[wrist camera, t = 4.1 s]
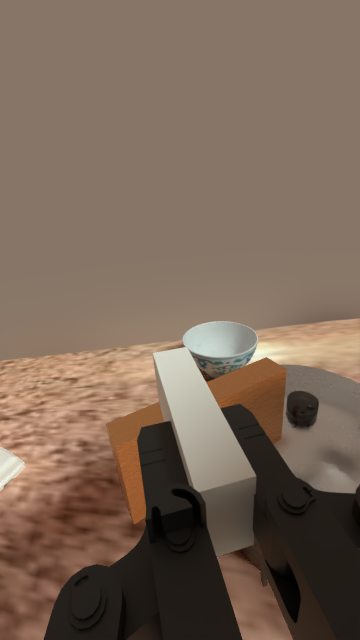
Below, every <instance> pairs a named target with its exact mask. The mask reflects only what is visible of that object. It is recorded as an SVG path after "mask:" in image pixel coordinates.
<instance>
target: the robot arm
mask: <svg viewBox="0 0 360 640" xmlns="http://www.w3.org/2000/svg"><path fill="white" fill-rule="evenodd" d="M153 359H154V366H155V374H156V381H157V389H158V396H159V404H160V408H161V412H162V415H163V419H164V422H162V423H158V424H153V425H149V426H145V427H141V430H140V433H139V436H138V438H137V445H138V452H139V460H140V467H141V474H142V482H143V489H144V497H145V504H146V519H145V521H146V528H145V531H144V533H143V535H142V538H141V540H140V541H139V542H138V544H137V545H136V546H135V548H134V549H132V550H131V551H130V552H129V553H128V554H127V555H125V556H124V557H123V558H121V559H120V560H118V561H117V562H116V563H114V564H113V565H111V566H110V567H107V566H102V565H97V564H96V565H92V566H88V567H85V568H83V569H82V570H80V571H79V572H77V573H76V574H74V575H73V576H72V577H71V578H70V579H69V580H68V582H67V583H66V584H65V585H64V587H63V588H62V589H61V591H60V593H59V595H58V598H57V600H56V602H55V604H54V607H53V610H52V614H51V617H50V620H49V624H48V627H47V630H46V633H45V637H44V640H242V637H241V633H240V630H239V627H238V624H237V621H236V617H235V614H234V611H233V608H232V605H231V601H230V598H229V595H228V592H227V589H226V585H225V582H224V579H223V576H222V573H221V570H220V566H219V563H218V560H217V557H218V556H221V555H224V554H227V553H230V552H233V551H236V550H239V549H242V548H245V547H249V546H252V545H254V534H255V537H256V539H257V541H258V543H259V546H260V548H261V550H262V561H261V580H262V584H263V586H266V585H267V579H268V580H269V583H270V585H271V587H272V590H273V592H274V595H275V597H276V599H277V602H278V604H279V606H280V609H281V611H282V614H283V616H284V618H285V621H286V623H287V625H288V628H289V630H290V632H291V635H292V637H293V640H360V485H359V486H358V487H357V489H356V492H355V493H337V492H325V491H320V490H317V489H314V488H313V487H312V486H311V485H310V484H308V483H306V482H305V481H303V480H301V479H299V478H297V477H296V476H295V475H294V474H293V473H292V471H291V470H290V468H289V467H288V465H287V464H286V462H285V461H284V459H283V458H282V456H281V455H280V454H279V452H278V451H277V449H276V448H275V446H274V445H273V443H272V442H271V440H270V439H269V437H268V436H267V435H266V433H265V431H264V430H263V428H262V427H261V426H260V425H259V422H258V421H257V419H256V418H255V416H254V415H253V413H252V412H251V411H249V410H248V409H246V408H245V407H244V406H242V405H241V404H237V405H232V406H228V407H224V408H220V407H219V406H218V404H217V402H216V400H215V398H214V396H213V394H212V393H211V391H210V389H209V387H208V385H207V383H206V381H205V380H204V378H203V376H202V374H201V372H200V370H199V368H198V367H197V365H196V363H195V361H194V359H193V357H192V355H191V354H190V352H189V350H188V348H187V347H183V348H178V349H173V350H167V351H162V352H156V353H153Z"/></svg>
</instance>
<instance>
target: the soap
mask: <svg viewBox="0 0 360 640" xmlns="http://www.w3.org/2000/svg"><path fill="white" fill-rule="evenodd" d="M25 466H26V465H25V463H24V462H23V461H22V460H21V459H20V458H18V457H17V456H15V455H14V454H13V453H11V452H10V451H8V450H6V449H4V448H3V447H1V446H0V491H1V490H2V489H3V488H4V485H5V484H7V483H8V482H9V481H10V480H11V479H12V478H13V479H14V478H15V477H16V476H17V475H18V474H19V473H20V472H21V471H22V470H23V469H24V468H25Z"/></svg>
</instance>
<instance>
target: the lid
mask: <svg viewBox="0 0 360 640" xmlns="http://www.w3.org/2000/svg"><path fill="white" fill-rule="evenodd" d="M206 383H207V385H208V387H209V389H210V391H211V393H212V394H213V396H214V398H215V400H216V402H217V404H218V406H219V407H220V408H224V407H228V406H232V405H237V404H241V405H242V406H244V407H245V408H246V409H248V410H249V411H251V412H252V413H253V415H254V416H255V418H256V419H257V421H258V422H259V425H260V426H261V427H262V428H263V430H264V431H265V433H266V435H267V436H268V437H269V439H270V440H271V442H272V443H273V445H274V446H275V448H276V449H277V451H278V452H279V454H280V455H281V456H282V458H283V459H284V461H285V462H286V464H287V465H288V467H289V468H290V470H291V471H292V473H293V474H294V475H295V476H296V477H297V478H299V479H301V480H303V481H305V482H306V483H308V484H310V485H311V486H312V487H313V488H314V489H317V490H320V491H325V492H337V493H355V492H356V489H357V487H358V486H359V485H360V384H359V383H357V382H355V381H353V380H351V379H348V378H346V377H343V376H341V375H338V374H335V373H332V372H329V371H326V370H322V369H318V368H313V367H307V366H299V365H278V364H277V363H275V362H274V361H272V360H270V359H269V358H267V357H266V358H264V359H261V360H259V361H256V362H254V363H252V364H249V365H247V366H244V367H242V368H240V369H237V370H235V371H232V372H230V373H228V374H225V375H223V376H220V377H218V378H215V379H213V380H211V381H208V382H206ZM162 422H164V419H163V415H162V412H161V408H160V404H159V402H158V403H155V404H153V405H151V406H148V407H146V408H143V409H141V410H138V411H136V412H134V413H131V414H129V415H126V416H124V417H122V418H119V419H117V420H114V421H112V422H110V423H107V424H106V427H107V431H108V435H109V439H110V443H111V447H112V451H113V455H114V460H115V464H116V468H117V472H118V476H119V480H120V484H121V488H122V492H123V496H124V499H125V502H126V504H127V507H128V510H129V512H130V515H131V517H132V520H133V522H134V524H135V523H137V522H139V521H141V520H142V519H144V518H146V504H145V497H144V489H143V482H142V474H141V467H140V460H139V452H138V445H137V438H138V436H139V433H140V430H141V427H145V426H149V425H153V424H158V423H162Z"/></svg>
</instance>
